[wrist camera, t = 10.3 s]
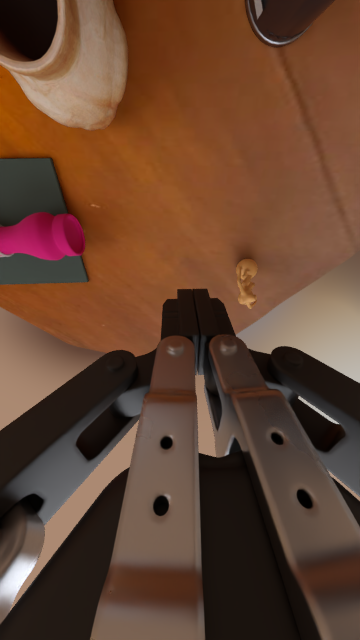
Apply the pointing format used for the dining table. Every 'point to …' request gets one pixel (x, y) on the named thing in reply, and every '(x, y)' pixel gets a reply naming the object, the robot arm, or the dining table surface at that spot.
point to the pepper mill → (43, 237)
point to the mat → (23, 200)
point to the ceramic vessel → (66, 57)
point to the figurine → (246, 281)
